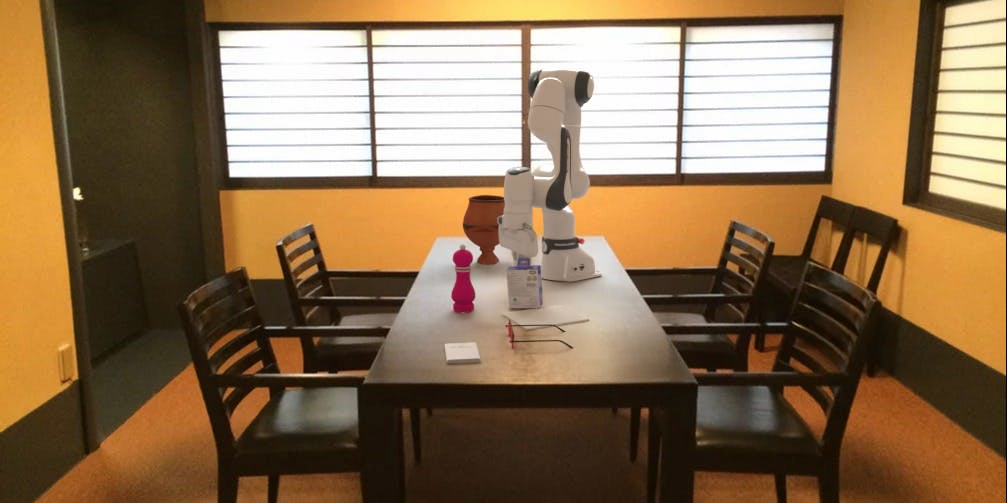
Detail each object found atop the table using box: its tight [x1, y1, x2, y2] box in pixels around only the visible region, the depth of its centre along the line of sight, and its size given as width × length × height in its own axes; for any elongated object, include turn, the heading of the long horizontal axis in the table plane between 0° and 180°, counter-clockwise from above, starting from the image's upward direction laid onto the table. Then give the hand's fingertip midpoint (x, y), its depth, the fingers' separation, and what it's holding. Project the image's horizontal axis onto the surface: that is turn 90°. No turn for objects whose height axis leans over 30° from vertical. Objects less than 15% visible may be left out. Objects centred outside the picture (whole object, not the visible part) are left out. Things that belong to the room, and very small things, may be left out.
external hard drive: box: [444, 341, 482, 364], centre depth 188 cm, size 2×8×12 cm
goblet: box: [462, 194, 505, 265], centre depth 287 cm, size 19×19×25 cm
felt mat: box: [501, 304, 590, 331], centre depth 218 cm, size 20×16×1 cm
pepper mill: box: [450, 243, 476, 313], centre depth 224 cm, size 7×7×20 cm
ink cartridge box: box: [506, 257, 544, 309], centre depth 227 cm, size 10×6×14 cm, turn 79°
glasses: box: [504, 319, 574, 349], centre depth 198 cm, size 14×16×5 cm
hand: (518, 266), depth 231 cm, fingers closed
